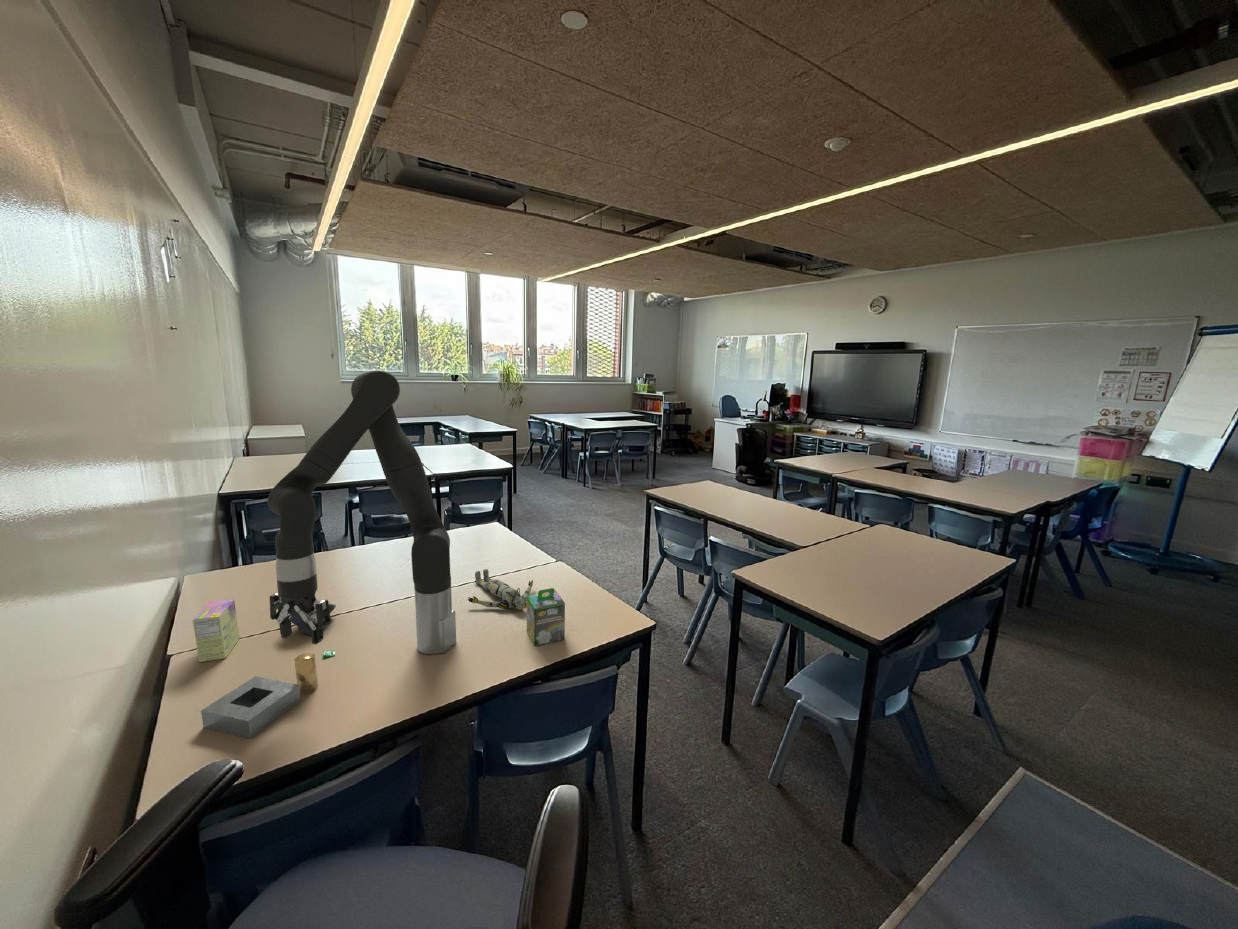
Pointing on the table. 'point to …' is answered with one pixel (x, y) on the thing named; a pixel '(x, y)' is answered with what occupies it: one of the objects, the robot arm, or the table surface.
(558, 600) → the chalk box
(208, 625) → the box
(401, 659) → the table surface
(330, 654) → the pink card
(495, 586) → the action figure
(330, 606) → the rock
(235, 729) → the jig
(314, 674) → the cylinder
